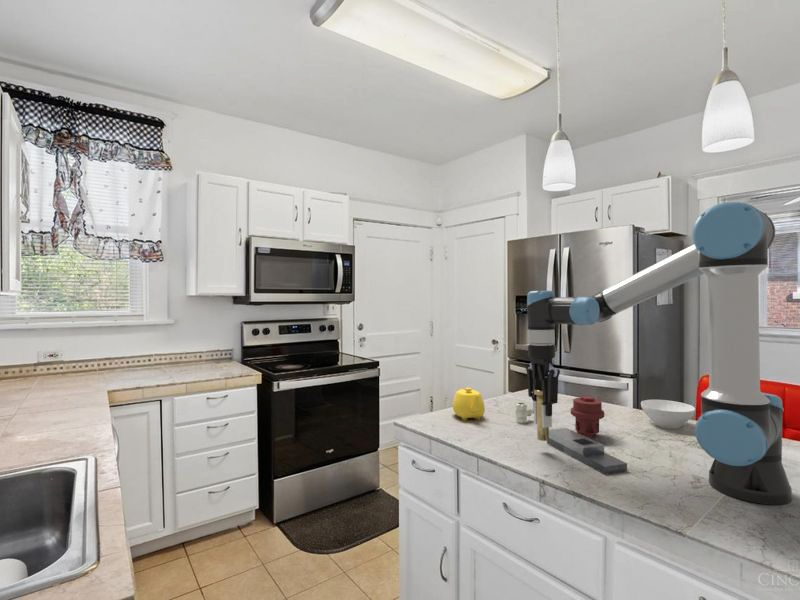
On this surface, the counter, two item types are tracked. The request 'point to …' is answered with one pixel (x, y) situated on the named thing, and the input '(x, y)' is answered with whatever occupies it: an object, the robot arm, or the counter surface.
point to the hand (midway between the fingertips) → (542, 424)
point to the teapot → (468, 404)
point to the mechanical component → (587, 415)
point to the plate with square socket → (585, 450)
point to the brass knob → (540, 417)
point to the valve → (523, 412)
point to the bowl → (668, 413)
